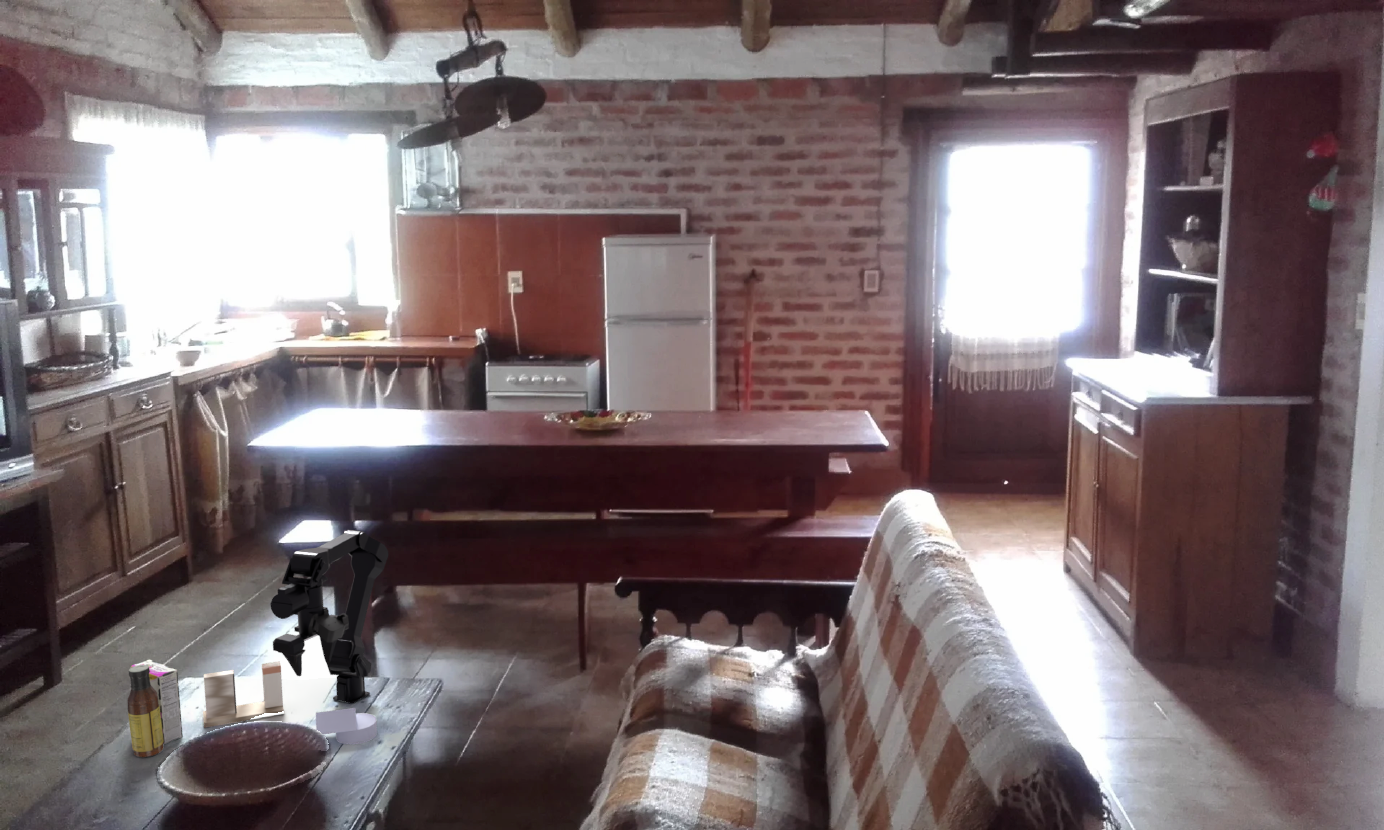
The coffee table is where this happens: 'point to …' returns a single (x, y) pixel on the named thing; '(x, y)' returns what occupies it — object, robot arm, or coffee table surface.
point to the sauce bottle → (144, 714)
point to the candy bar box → (166, 698)
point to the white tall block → (272, 684)
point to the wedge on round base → (347, 725)
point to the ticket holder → (228, 701)
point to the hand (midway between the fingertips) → (313, 668)
